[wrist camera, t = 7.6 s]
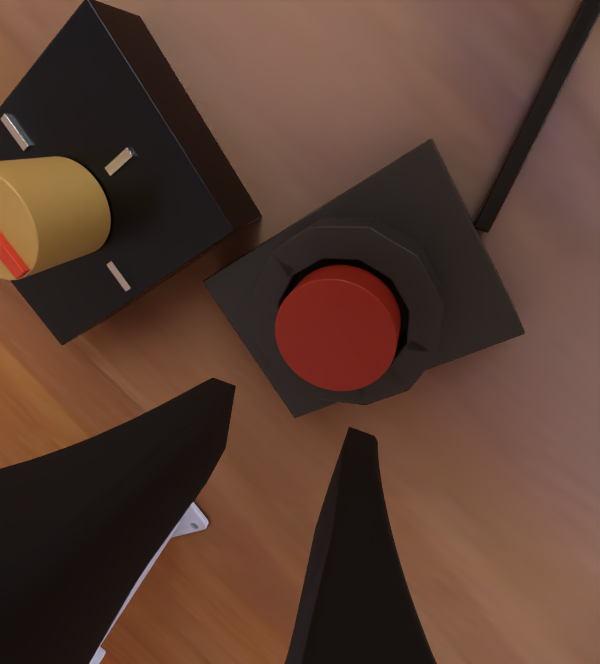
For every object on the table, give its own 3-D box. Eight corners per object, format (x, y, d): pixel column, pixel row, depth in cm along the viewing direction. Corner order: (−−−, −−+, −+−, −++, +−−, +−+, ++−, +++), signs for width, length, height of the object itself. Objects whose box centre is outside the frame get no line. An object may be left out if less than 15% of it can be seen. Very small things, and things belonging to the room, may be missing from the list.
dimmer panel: (101, 322, 24) (59, 347, 22) (-7, 180, 22) (-68, 187, 20) (262, 216, 19) (232, 231, 16) (140, 15, 17) (82, -6, 14)
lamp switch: (324, 382, 18) (314, 406, 17) (268, 295, 17) (251, 311, 16) (421, 344, 16) (420, 367, 15) (364, 242, 15) (356, 255, 14)
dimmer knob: (15, 191, 19) (-86, 207, 15) (65, 135, 17) (-36, 138, 13) (74, 269, 19) (-7, 301, 16) (129, 224, 18) (50, 249, 14)
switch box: (303, 399, 23) (282, 442, 20) (218, 270, 21) (181, 295, 18) (518, 316, 18) (534, 356, 15) (431, 137, 16) (429, 140, 13)
